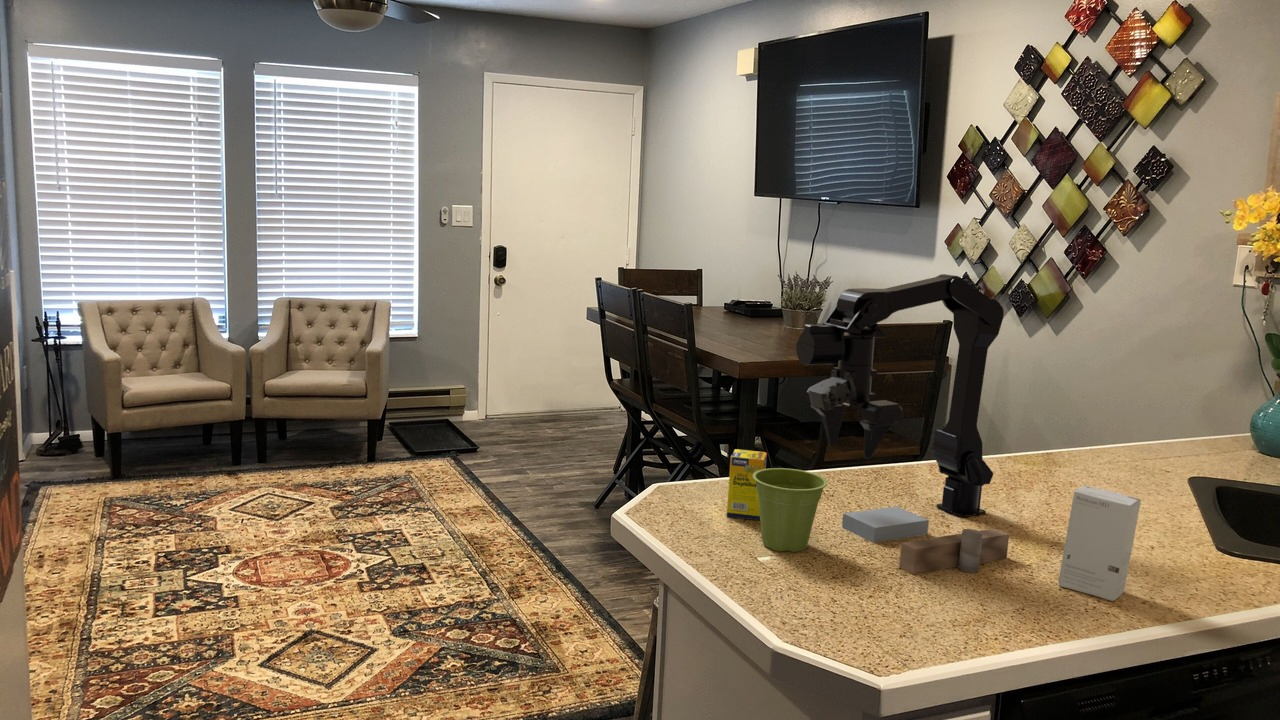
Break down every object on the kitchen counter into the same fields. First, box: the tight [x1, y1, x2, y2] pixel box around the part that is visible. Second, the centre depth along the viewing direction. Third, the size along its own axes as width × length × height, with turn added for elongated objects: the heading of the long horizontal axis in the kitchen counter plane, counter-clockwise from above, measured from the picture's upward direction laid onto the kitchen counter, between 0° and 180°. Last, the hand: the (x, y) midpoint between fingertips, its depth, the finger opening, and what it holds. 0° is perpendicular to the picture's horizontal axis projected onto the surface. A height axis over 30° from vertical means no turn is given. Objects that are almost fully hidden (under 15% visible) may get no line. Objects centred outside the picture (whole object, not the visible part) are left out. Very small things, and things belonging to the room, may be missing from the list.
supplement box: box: [726, 448, 768, 521], centre depth 174 cm, size 6×6×11 cm
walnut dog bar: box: [898, 528, 1010, 575], centre depth 154 cm, size 20×6×6 cm, turn 118°
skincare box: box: [1058, 485, 1142, 602], centre depth 146 cm, size 8×6×15 cm
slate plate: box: [841, 505, 930, 544], centre depth 170 cm, size 12×8×3 cm, turn 118°
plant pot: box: [753, 467, 828, 553], centre depth 159 cm, size 12×12×11 cm
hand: (849, 451), depth 172 cm, fingers open, 9 cm apart
